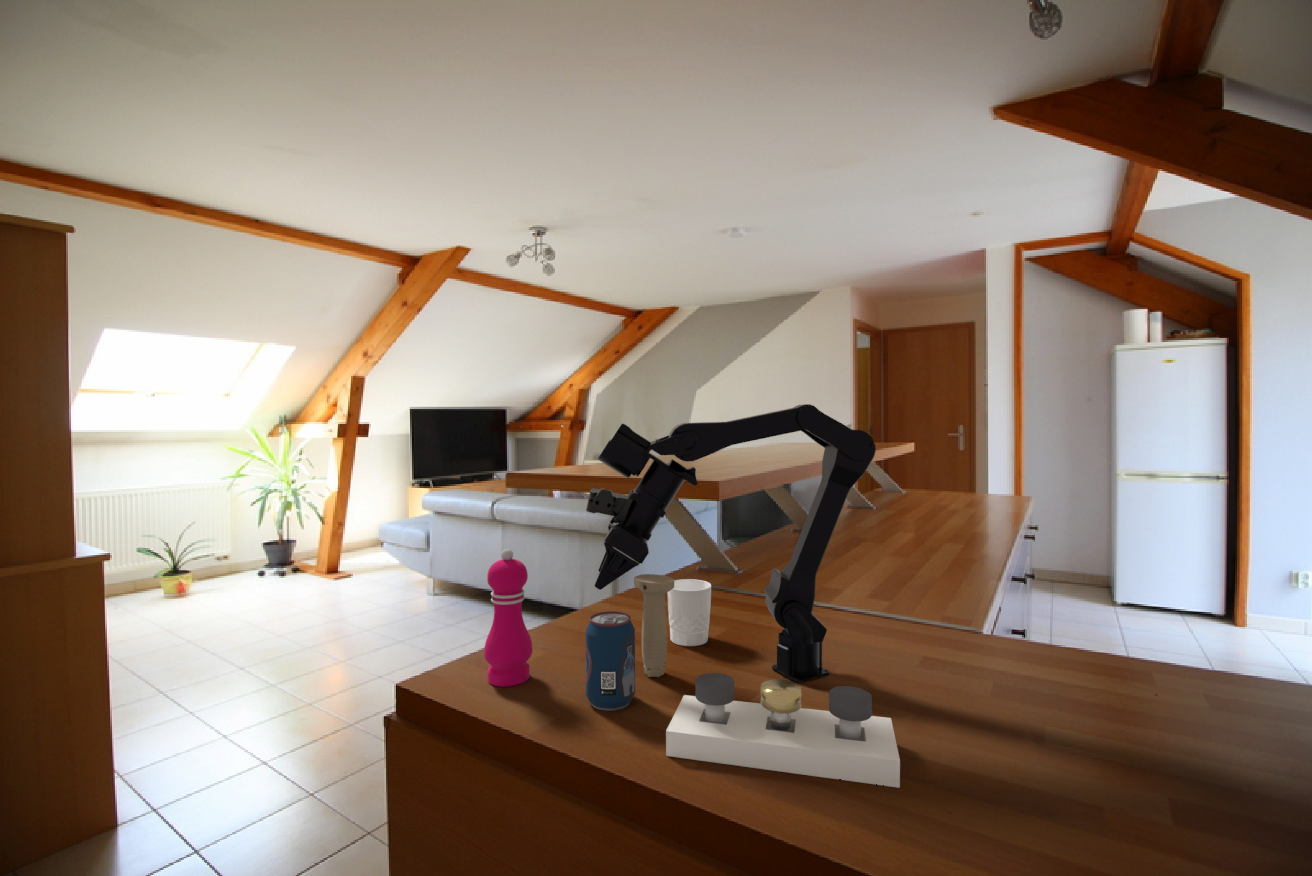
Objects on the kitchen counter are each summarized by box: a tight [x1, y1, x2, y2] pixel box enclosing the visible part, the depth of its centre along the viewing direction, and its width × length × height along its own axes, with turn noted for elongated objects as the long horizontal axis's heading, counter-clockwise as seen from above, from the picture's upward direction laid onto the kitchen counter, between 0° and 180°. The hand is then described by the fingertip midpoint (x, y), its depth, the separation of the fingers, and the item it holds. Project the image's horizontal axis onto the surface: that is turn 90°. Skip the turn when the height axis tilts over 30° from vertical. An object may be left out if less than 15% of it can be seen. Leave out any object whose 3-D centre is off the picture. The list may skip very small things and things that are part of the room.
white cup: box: [666, 578, 712, 647], centre depth 115 cm, size 8×8×10 cm
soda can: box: [585, 610, 636, 711], centre depth 90 cm, size 7×7×12 cm
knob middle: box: [760, 678, 802, 731], centre depth 77 cm, size 5×5×5 cm
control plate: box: [665, 694, 901, 789], centre depth 77 cm, size 26×10×3 cm, turn 75°
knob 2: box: [828, 685, 873, 739], centre depth 75 cm, size 5×5×5 cm
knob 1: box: [695, 672, 736, 723], centre depth 79 cm, size 5×5×5 cm
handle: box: [633, 573, 675, 678], centre depth 100 cm, size 5×6×15 cm
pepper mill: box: [483, 548, 533, 688], centre depth 98 cm, size 7×7×20 cm
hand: (599, 580), depth 99 cm, fingers open, 9 cm apart
